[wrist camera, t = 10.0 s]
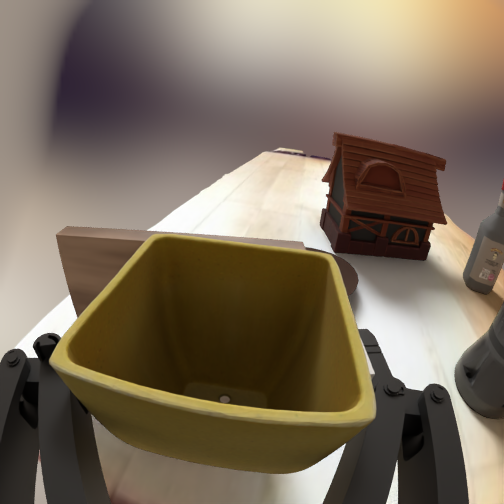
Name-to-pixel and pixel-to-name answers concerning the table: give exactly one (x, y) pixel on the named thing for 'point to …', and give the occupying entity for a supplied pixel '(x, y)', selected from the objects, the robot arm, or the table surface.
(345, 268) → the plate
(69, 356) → the flower pot
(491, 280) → the liquor
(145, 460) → the table surface
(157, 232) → the cleat board
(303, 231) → the table surface
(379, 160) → the house
